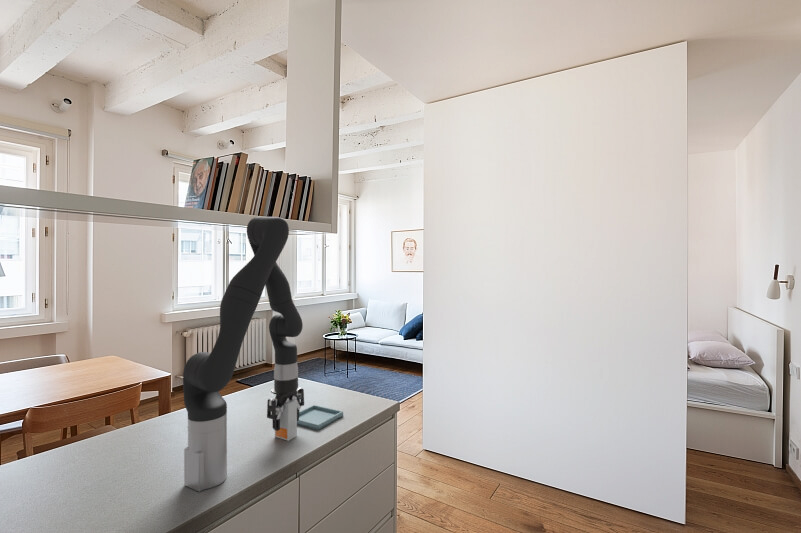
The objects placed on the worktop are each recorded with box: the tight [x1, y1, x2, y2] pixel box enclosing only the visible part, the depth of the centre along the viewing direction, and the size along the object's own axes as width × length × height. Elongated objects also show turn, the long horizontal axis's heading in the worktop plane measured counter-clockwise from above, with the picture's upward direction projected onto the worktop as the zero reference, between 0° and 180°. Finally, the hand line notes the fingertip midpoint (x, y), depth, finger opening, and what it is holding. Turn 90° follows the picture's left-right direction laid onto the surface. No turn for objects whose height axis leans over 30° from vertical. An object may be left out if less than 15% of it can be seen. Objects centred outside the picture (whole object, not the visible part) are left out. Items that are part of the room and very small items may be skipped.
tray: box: [297, 404, 344, 431], centre depth 145 cm, size 14×14×2 cm
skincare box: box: [274, 400, 298, 442], centre depth 130 cm, size 6×4×12 cm
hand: (286, 425), depth 130 cm, fingers open, 8 cm apart
